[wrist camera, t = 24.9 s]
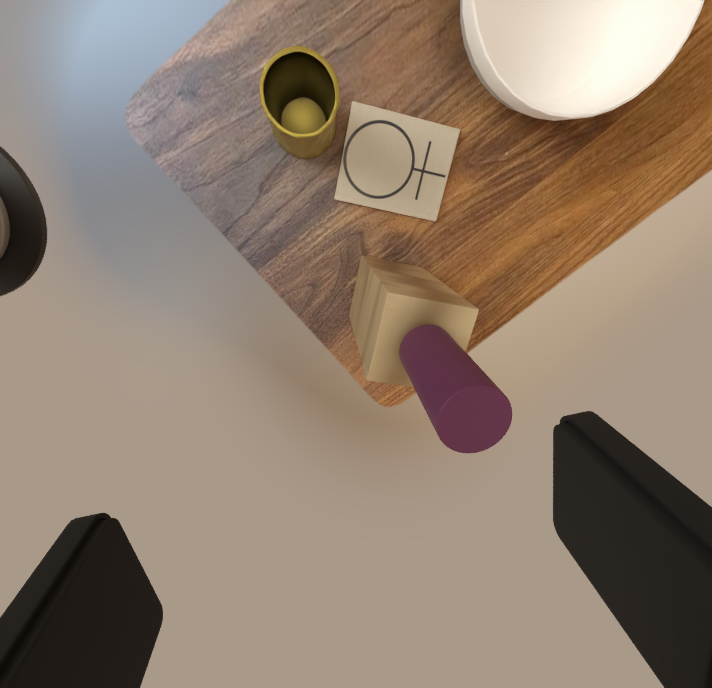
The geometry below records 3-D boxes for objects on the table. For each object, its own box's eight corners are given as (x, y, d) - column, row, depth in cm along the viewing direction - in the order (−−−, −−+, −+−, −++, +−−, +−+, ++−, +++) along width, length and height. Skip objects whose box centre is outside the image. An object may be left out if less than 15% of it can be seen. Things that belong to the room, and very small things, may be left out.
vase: (319, 170, 42) (322, 163, 28) (261, 138, 40) (236, 115, 27) (346, 109, 40) (363, 71, 27) (287, 74, 38) (274, 15, 25)
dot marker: (391, 366, 31) (427, 449, 21) (404, 316, 30) (449, 380, 20) (441, 373, 32) (498, 457, 22) (455, 325, 31) (523, 391, 21)
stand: (348, 315, 47) (366, 380, 32) (361, 254, 45) (387, 292, 29) (407, 325, 48) (452, 393, 33) (422, 267, 46) (479, 309, 30)
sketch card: (334, 199, 43) (334, 199, 42) (351, 102, 40) (352, 100, 39) (434, 221, 44) (436, 221, 44) (458, 130, 42) (460, 129, 41)
